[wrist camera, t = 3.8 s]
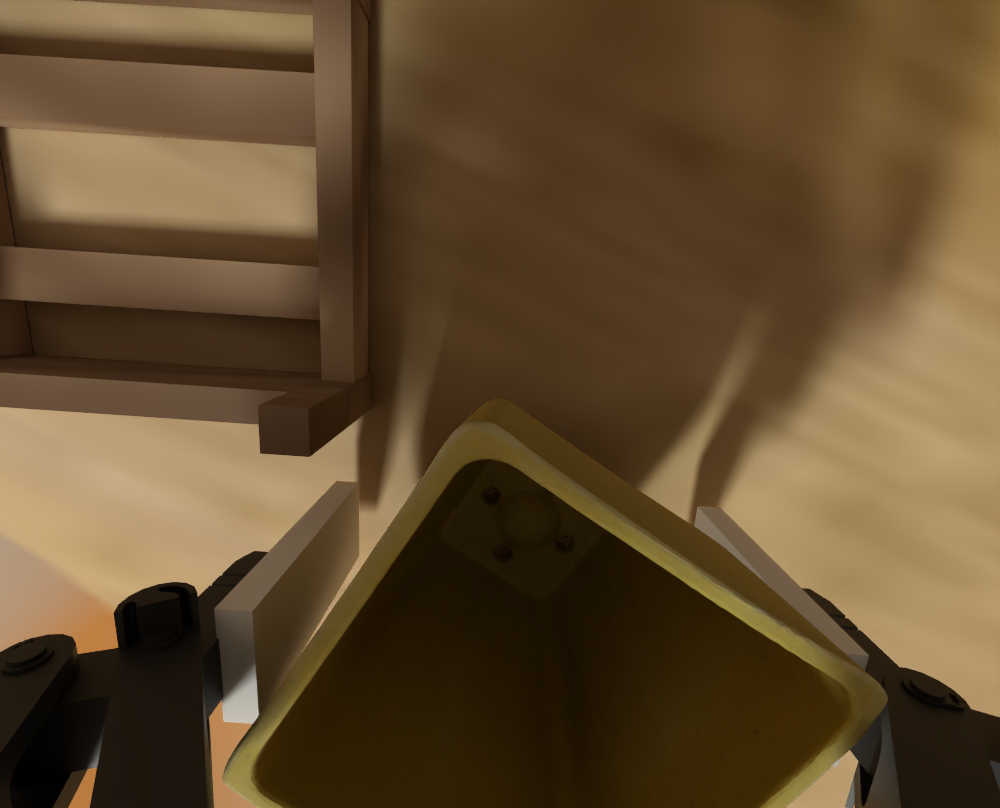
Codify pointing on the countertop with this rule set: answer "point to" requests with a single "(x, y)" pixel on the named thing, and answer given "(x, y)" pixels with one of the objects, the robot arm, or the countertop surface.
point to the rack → (199, 282)
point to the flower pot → (551, 655)
